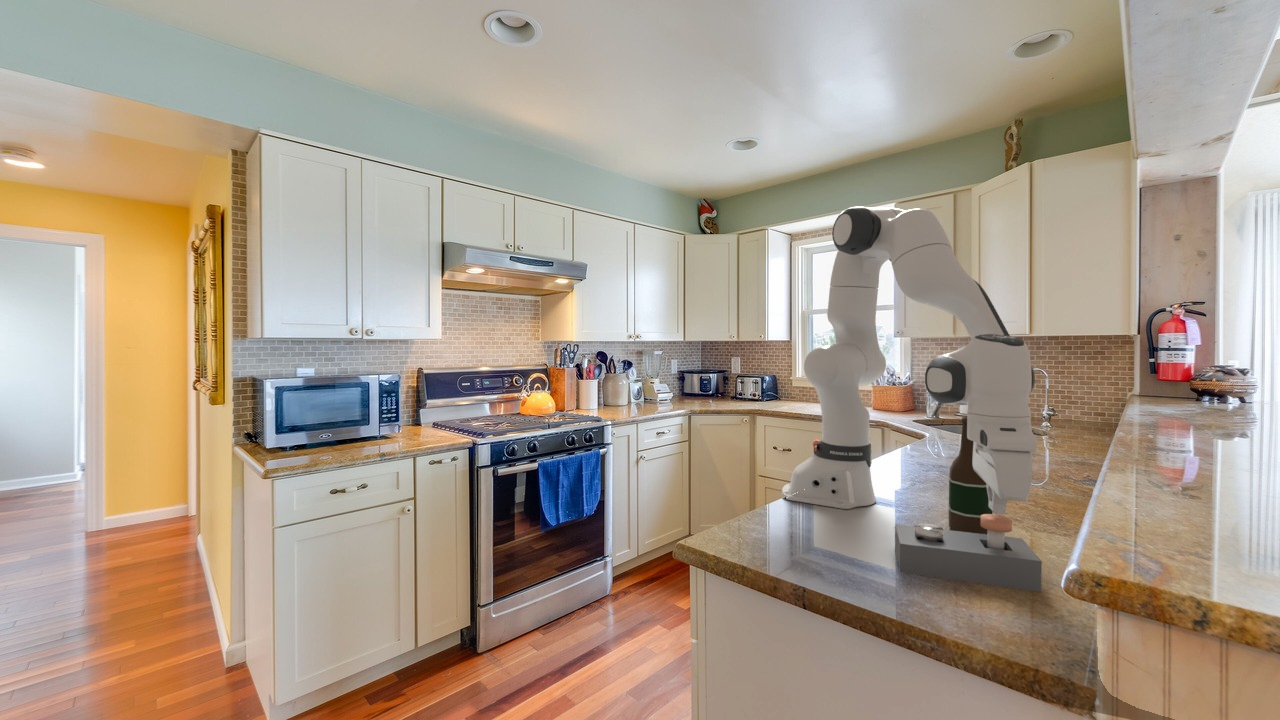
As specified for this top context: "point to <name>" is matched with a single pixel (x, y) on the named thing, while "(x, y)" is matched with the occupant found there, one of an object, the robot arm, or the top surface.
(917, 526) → the grey mushroom plug
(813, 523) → the top surface
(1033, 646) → the top surface
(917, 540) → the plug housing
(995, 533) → the mushroom push button
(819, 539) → the top surface
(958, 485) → the beer bottle
